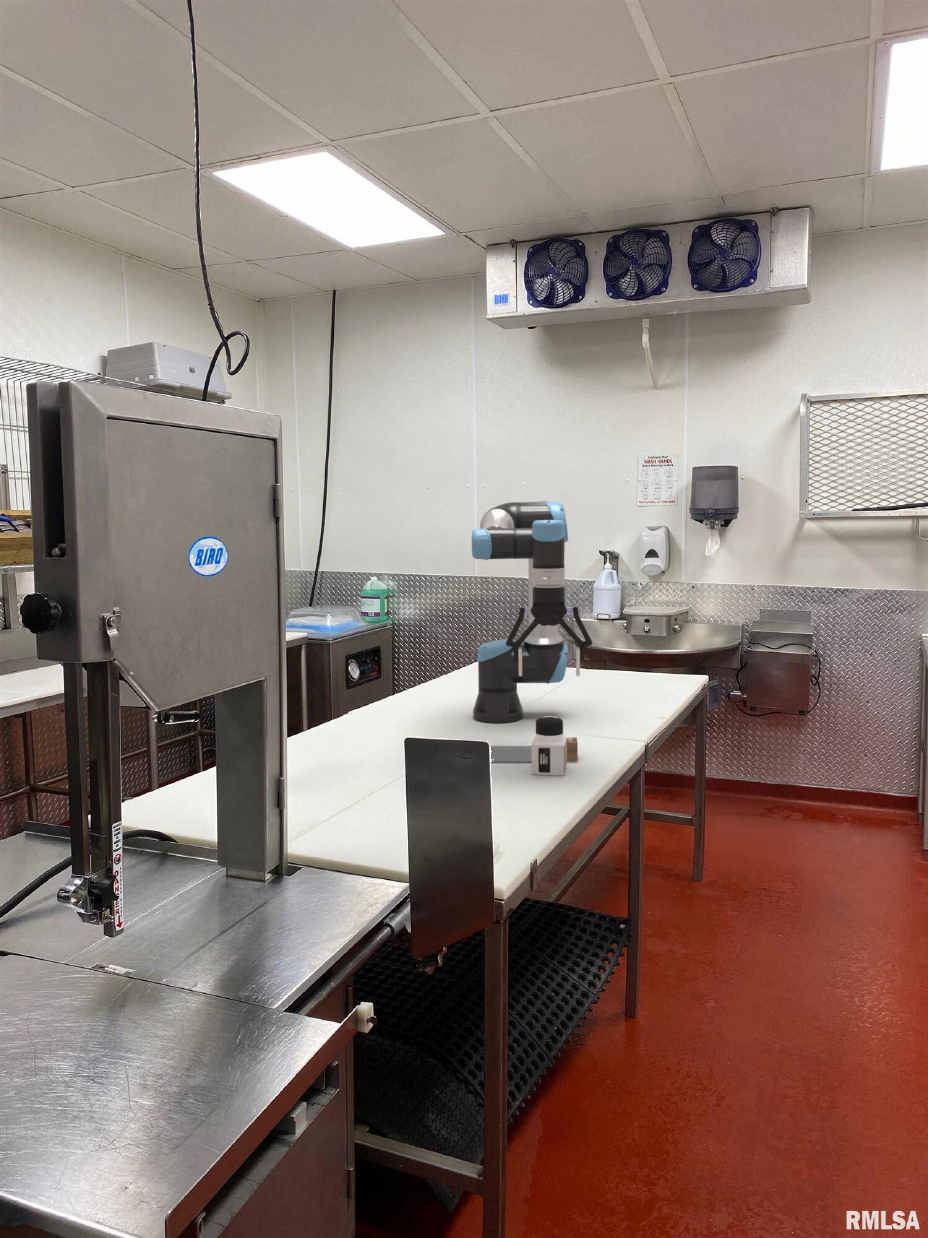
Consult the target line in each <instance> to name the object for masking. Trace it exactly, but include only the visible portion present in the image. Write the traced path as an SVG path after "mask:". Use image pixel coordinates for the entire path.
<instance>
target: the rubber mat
mask: <svg viewBox="0 0 928 1238" xmlns="http://www.w3.org/2000/svg"><path fill="white" fill-rule="evenodd" d="M490 746H491V751H492V752H491V759H492V763H491V764H499V763H498V762H501V763H500V764H532V745H490ZM493 759H494V760H493ZM493 761H494V763H493ZM496 762H497V763H496Z"/></svg>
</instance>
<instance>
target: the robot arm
mask: <svg viewBox="0 0 928 1238" xmlns="http://www.w3.org/2000/svg"><path fill="white" fill-rule="evenodd" d="M568 531H569V530H568V524H567V518H566V511H565V507H564V505H563V503H561V502H560V501H548V500H547V501H545V500H543V501H522V502H518V501H517V502H516V501H515V502H514V501H512V502H511V501H510V502H506V503H503V504H500V505H499V504H498V505H496V506H494V507H492V508H490V509H489V510H488V511H486V512H485V513H484V514H483V516H482V518H481V519H480V523H479V528H475V529H473V530H472V532H471V555H472V557H473V558H474V560H484V561H488V560H509V559H511V560H516V559H517V560H523V559H524V560H528V561H527V563H528V568H527V569H528V607H527V606H526V607H525V606H523V605H522V606H520V607H519V610H518V611H519V612H518V617H517V619H516V621H515V623H514V624H513V627H512V629H511V631H510V633H509V635H508V637H507V638H506V639H505V638H504V639H497V640H492V641H488V642H485V643H483V644H481V645H480V646H479V647H478V649H477V662H478V665H477V666H478V675H477V677H478V679H477V680H478V693H477V696H476V700H475V703H474V706H473V709H472V718H473V719H474V720H476V721H478V722H481V723H489V724H490V723H493V724H496V723H497V724H501V723H502V724H503V723H513V722H516V721H517V722H518V721H520V720H522V719H523V718H524V709H523V706H522V703H521V700H520V697H519V694H518V684H548V685H549V684H552V683H553V684H556V683H561V682H562V681H563V680H564V678H565V675H566V672H567V666H568V665H567V663H568V653H569V647H568V645H567V644H566V643H564V638H563V636H561V635H560V634H559V633H558V631H559V630H558V629H559V625H560V627H562V629H563V630H564V631H565V632H566V633H567V634H568V635H569V637H570V638H571V639H572V640H573V641H574V642H575V644H576V645H577V646H576V647H575V663H576V664H575V676H576V677H580V676H581V668H580V666H581V665H580V664H581V662H583V663H584V661H585V657H586V656H585V654H586V653H585V650H586V648H587V647H590V646H592V645H593V641H592V639H591V636H590V635H589V633H588V630H587V629H586V626H585V625H584V623H583V621H582V619H581V617H580V613H579V608H578V606H577V605H573V606H570V607H569V606H568V607H567V606H566V605H565V604H566V600H565V599H566V596H565V595H566V592H565V587H564V586H563V585H564V584H565V583H566V580H565V577H566V576H565V574H566V572H565V571H566V568H565V544H566V543H567V542H569V534H568V533H569V532H568ZM567 613H569V615H570V617H573V619H574V620H575V622H576V624H577V627H578V629H579V630H580V633H581V635H582V636H583V638H584V641H583V640H582V638H581V637H579V635H577V633H576V632H575V631H574V630H573V628H571V626H570V625H569V624H568V623H567V622H566V620H565V619H564V617H565V616H566V615H567ZM527 616H528V626H527V627H526V629H525V630H523V632H522V633H521V635H520V636H519V637H518V638H517V639H515V637H516V635H517V634H518V631H519V628H520V626H521V625H522V623H523V621H524V618H525V617H527Z"/></svg>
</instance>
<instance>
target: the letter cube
mask: <svg viewBox="0 0 928 1238" xmlns="http://www.w3.org/2000/svg"><path fill="white" fill-rule="evenodd" d="M566 737H567V736H566ZM578 745H579V744H578V738H577V737H576V736H574V737H573V736H571V737H569V736H568V737H567V761H578V759H579V757H578V750H579V749H578V747H579V746H578Z"/></svg>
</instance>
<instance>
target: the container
mask: <svg viewBox="0 0 928 1238" xmlns="http://www.w3.org/2000/svg"><path fill="white" fill-rule="evenodd" d="M531 746H532V763H531V775H535V776H536V775H538V776H555V777H557V776H558V777H559V776H562V777H564V776H565V773H566V771H567V767H568V766H567V765H568V762H567V736H566V735H565V736H564V721H563V720H562V719H561V718H560V717H558V716H551V715H549V716H548V715H547V716H542V717H539V718H537V719H536V721H535V736H534V738H533V741H532V743H531Z"/></svg>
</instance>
